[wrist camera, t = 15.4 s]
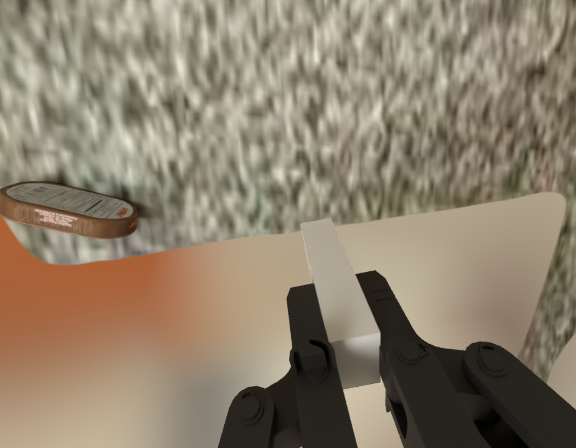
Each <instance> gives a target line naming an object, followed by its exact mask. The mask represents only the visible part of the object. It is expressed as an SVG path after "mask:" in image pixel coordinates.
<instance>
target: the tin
mask: <svg viewBox="0 0 576 448" xmlns="http://www.w3.org/2000/svg"><path fill="white" fill-rule="evenodd" d="M0 215H1V216H2V217H4V218H6V219H8V220H11V221H14V222H17V223H22V224H27V225H32V226H37V227H41V228H46V229H51V230H56V231H60V232H65V233H70V234H75V235H79V236H84V237H89V238H95V239H114V238H121V237H125V236H128V235H130V234H132V233H133V232H134V231H135V230H136V228H137V225H136V223H137V217H138V212H137V209H136V208H135V207H134V206H133V205H132V204H130V203H128V202H126V201H124V200H121V199H118V198H114V197H110V196H106V195H102V194H98V193H94V192H90V191H86V190H82V189H78V188H74V187H70V186H65V185H61V184H56V183H50V182H38V181H29V182H19V183H16V184H13V185H9V186H6V187H4V188H2V189H0Z"/></svg>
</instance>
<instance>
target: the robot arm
mask: <svg viewBox="0 0 576 448" xmlns="http://www.w3.org/2000/svg"><path fill="white" fill-rule="evenodd" d="M301 230H302V235H303V240H304V246H305V251H306V257H307V262H308V267H309V271H310V276H311V280H312V284H307V285H303V286H297V287H292V288H290V290H289V293H288V296H287V307H288V315H289V323H290V332H291V340H292V349H291V351H290V357H289V361H290V364H291V368H290V370H289V372H288V373H287V374H286V375H285V376H284V377H283V378H282V379H280V380H279V381H278V382H276V383H274V384H272V385H271V386H269V387H267V388H266V389H265V388H262V387H258V386H253V387H247V388H246V389H244V390H242V391H240V392H239V393H238V395H237V396H236V397H235V398H234V399H233V401H232V403H231V405H230V407H229V411H228V414H227V417H226V421H225V424H224V428H223V432H222V435H221V439H220V442H219V446H218V448H300V447H302V448H358V447H357V444H356V439H355V435H354V432H353V428H352V424H351V420H350V416H349V412H348V408H347V404H346V400H345V396H344V392H343V389H348V388H353V387H359V386H364V385H369V384H374V383H379V382H380V375H381V378H382V381H383V383H384V386H385V388H386V401H385V403H386V404H385V405H386V411H387V412H390V411H391V414H392V416H393V419H394V421H395V425H396V427H397V430H398V433H399V435H400V438H401V441H402V444H403V447H404V448H576V410H575V409H574V408H573V407H572V406H571V405H570V404H569V403H567V402H566V401H565V400H564V399H563V398H562V397H560V396H559V395H558V394H557V393H556V392H555V391H554V390H553V389H551V388H550V387H549V386H548V385H547V384H546V383H545V382H543V381H542V380H541V379H540V378H539V377H538V376H536V375H535V374H534V373H533V372H532V371H531V370H530V369H528V368H527V367H526V366H525V365H524V364H523V363H522V362H520V361H519V360H518V359H517V358H516V357H515V356H514V355H512V354H511V353H510V352H508V351H507V350H505V349H504V348H502V347H501V346H498V345H496V344H493V343H490V342H481V341H480V342H476V343H472V344H470V345H469V346H468V347H467V348H466V350H465V351H464V350H454V349H446V348H440V347H436V346H433V345H431V344H429V343H427V342H425V341H424V340H422V339H421V338H420V337H419V336H418V335H417V334H416V332H415V331H414V329H413V328H412V326H411V324H410V322H409V320H408V319H407V317H406V315H405V313H404V311H403V310H402V308H401V306H400V304H399V302H398V301H397V299H396V298H395V295H394V293H393V292H392V290H391V288H390V286H389V284H388V282H387V281H386V279H385V278H384V277H383V276H382V275H380V274H379V273H378V272H377V271H375V270H374V271H369V272H364V273H359V274H355V273H354V271H353V268H352V266H351V264H350V261H349V259H348V257H347V254H346V252H345V250H344V247H343V245H342V243H341V240H340V238H339V236H338V233H337V231H336V229H335V226H334V224H333V222H332V219H331V218H327V219H322V220H317V221H312V222H307V223H302V224H301Z"/></svg>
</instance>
